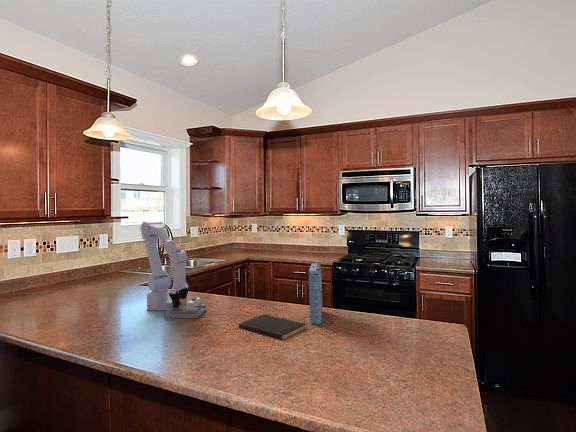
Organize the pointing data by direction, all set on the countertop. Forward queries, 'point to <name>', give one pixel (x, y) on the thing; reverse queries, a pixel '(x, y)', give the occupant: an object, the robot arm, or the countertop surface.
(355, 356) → the countertop surface
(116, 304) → the countertop surface
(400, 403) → the countertop surface
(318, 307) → the gum box
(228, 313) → the countertop surface
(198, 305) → the sliding jaw
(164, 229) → the robot arm
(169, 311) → the base
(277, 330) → the hardcover book
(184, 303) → the block
